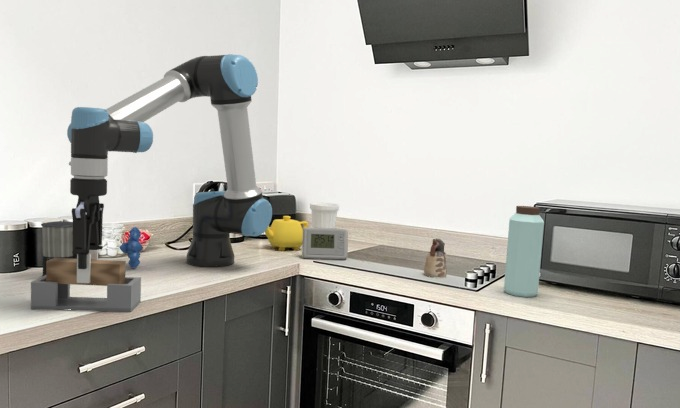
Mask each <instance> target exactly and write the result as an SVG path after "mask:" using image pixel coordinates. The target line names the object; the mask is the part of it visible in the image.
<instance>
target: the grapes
mask: <svg viewBox="0 0 680 408" xmlns="http://www.w3.org/2000/svg"><path fill="white" fill-rule="evenodd" d="M128 233H129V234H128V239H127V242H126V241H125V242H123V243H122V244H121V245H120V246H119V250H120V251H121V252H122V253H123V254H126V253H127V254H126V255H127V257H128V265H129V266H130V267H131V268H132V269H137V267H138V266H140V264H141V261H140V258H141V251H142V250H143V248H144V246H143V245H142V244H141V242H140V238H141V236H142V235H141V233H142V232H141V230H140V229H139V228H138V227H137V226H133V227H132V228H131V229H130V230H129V232H128Z"/></svg>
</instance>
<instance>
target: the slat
mask: <svg viewBox="0 0 680 408" xmlns="http://www.w3.org/2000/svg"><path fill="white" fill-rule="evenodd" d="M126 263H127V261H126V260H110V259H109V260H108V259H98V260H93V259H91V275H90V283H77V259H71V258H53V259H50V260H48V261H46V282H58V284H70V285H76V286H77V285H78V286H79V285H80V286H82V285H83V286H101V287H102V286H103V287H107V285H108V284H123V283H125V277H126V268H127V267H126V266H127V265H126Z"/></svg>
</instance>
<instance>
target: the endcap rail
mask: <svg viewBox="0 0 680 408" xmlns="http://www.w3.org/2000/svg"><path fill="white" fill-rule="evenodd" d="M70 285H71V284H58V282H46V275H44V276H43V277H42V276H41V277H39V278H37V279H35V280H33V281H31V282H30V310H40V309H71V310H70V311H76V310H97V311H96V312H112V313H113V312H114V313H115V312H116V313H117V312H119V313H120V312H121V313H122V312H123V313H131V312H132V311H134V309H136V308H137V307H138V305H139V304H140V303H141V300H142V299H141V295H142V294H141V293H142V277H139V276H138V277H137V276H135V277H134V276H125V283H123V284H108V285H107V286H106V297H84V296H81V297H80V296H71V295H70V294H71V289H70V288H71V286H70Z"/></svg>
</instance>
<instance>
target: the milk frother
mask: <svg viewBox="0 0 680 408" xmlns="http://www.w3.org/2000/svg"><path fill="white" fill-rule="evenodd" d="M40 225H41V229H42V234H41V235H42V275H41V277H43V276H44V275H46V261H48V260H50V259H53V258H71V259H77V254H73V253H72V251H73V221H48V222H43V223H40Z"/></svg>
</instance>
